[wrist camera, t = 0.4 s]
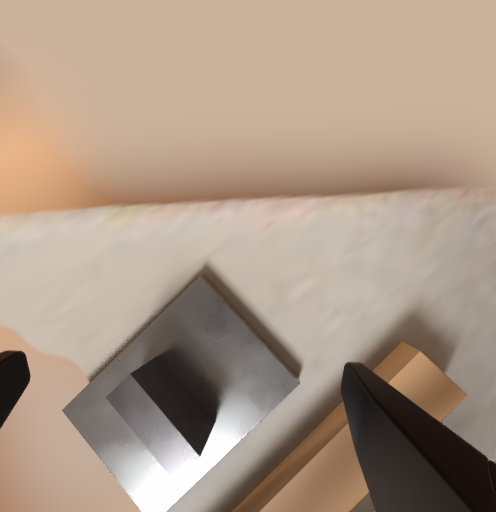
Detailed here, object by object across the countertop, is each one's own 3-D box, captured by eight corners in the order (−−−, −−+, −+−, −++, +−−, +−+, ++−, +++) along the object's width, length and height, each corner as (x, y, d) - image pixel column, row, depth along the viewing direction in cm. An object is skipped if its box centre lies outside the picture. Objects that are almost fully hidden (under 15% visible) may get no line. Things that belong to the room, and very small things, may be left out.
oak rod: (439, 377, 20) (467, 395, 17) (196, 618, 21) (182, 676, 18) (399, 340, 21) (420, 351, 18) (162, 577, 21) (143, 626, 18)
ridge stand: (299, 378, 21) (305, 411, 16) (157, 512, 21) (120, 585, 16) (203, 275, 22) (181, 275, 17) (71, 404, 22) (12, 440, 17)
